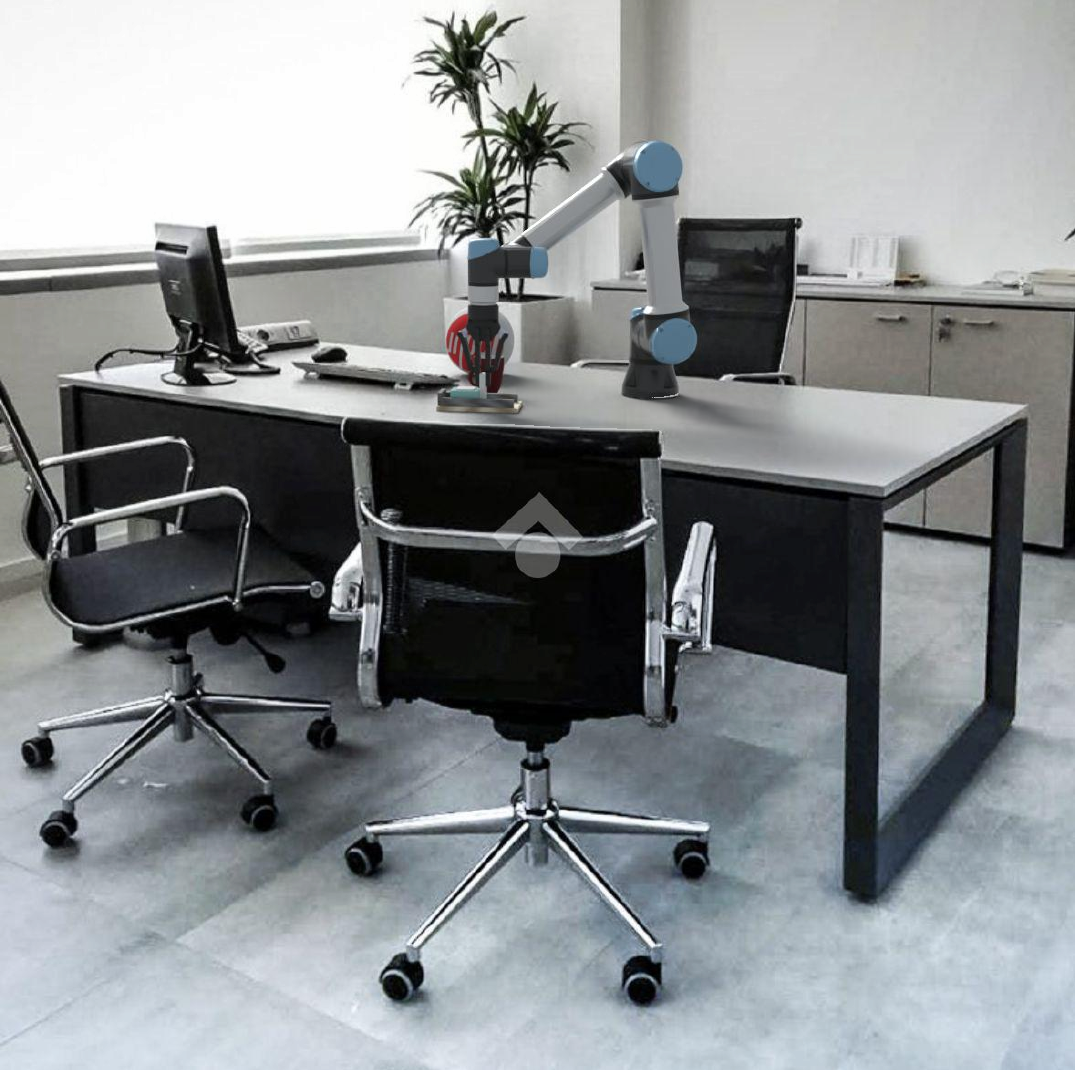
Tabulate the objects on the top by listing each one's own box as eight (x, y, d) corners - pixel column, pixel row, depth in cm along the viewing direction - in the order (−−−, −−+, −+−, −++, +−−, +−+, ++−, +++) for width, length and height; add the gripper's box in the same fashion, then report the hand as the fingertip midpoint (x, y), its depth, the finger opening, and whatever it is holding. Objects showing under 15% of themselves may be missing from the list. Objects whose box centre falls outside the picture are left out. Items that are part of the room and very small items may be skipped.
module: (481, 401, 331) (481, 386, 330) (478, 406, 325) (478, 389, 324) (454, 401, 331) (454, 385, 330) (450, 405, 325) (450, 389, 324)
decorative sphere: (436, 378, 371) (435, 307, 366) (456, 368, 390) (455, 300, 385) (504, 382, 367) (505, 309, 362) (521, 371, 386) (521, 302, 380)
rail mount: (521, 405, 333) (522, 389, 332) (517, 412, 322) (517, 396, 321) (443, 402, 334) (443, 387, 333) (436, 410, 324) (436, 394, 323)
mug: (481, 399, 340) (481, 360, 337) (460, 395, 345) (460, 357, 343) (510, 394, 348) (510, 356, 345) (489, 390, 353) (489, 353, 350)
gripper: (511, 302, 324) (510, 397, 330) (459, 301, 325) (459, 395, 332) (508, 305, 317) (507, 402, 323) (454, 304, 318) (454, 401, 324)
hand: (482, 399), depth 327 cm, fingers closed
